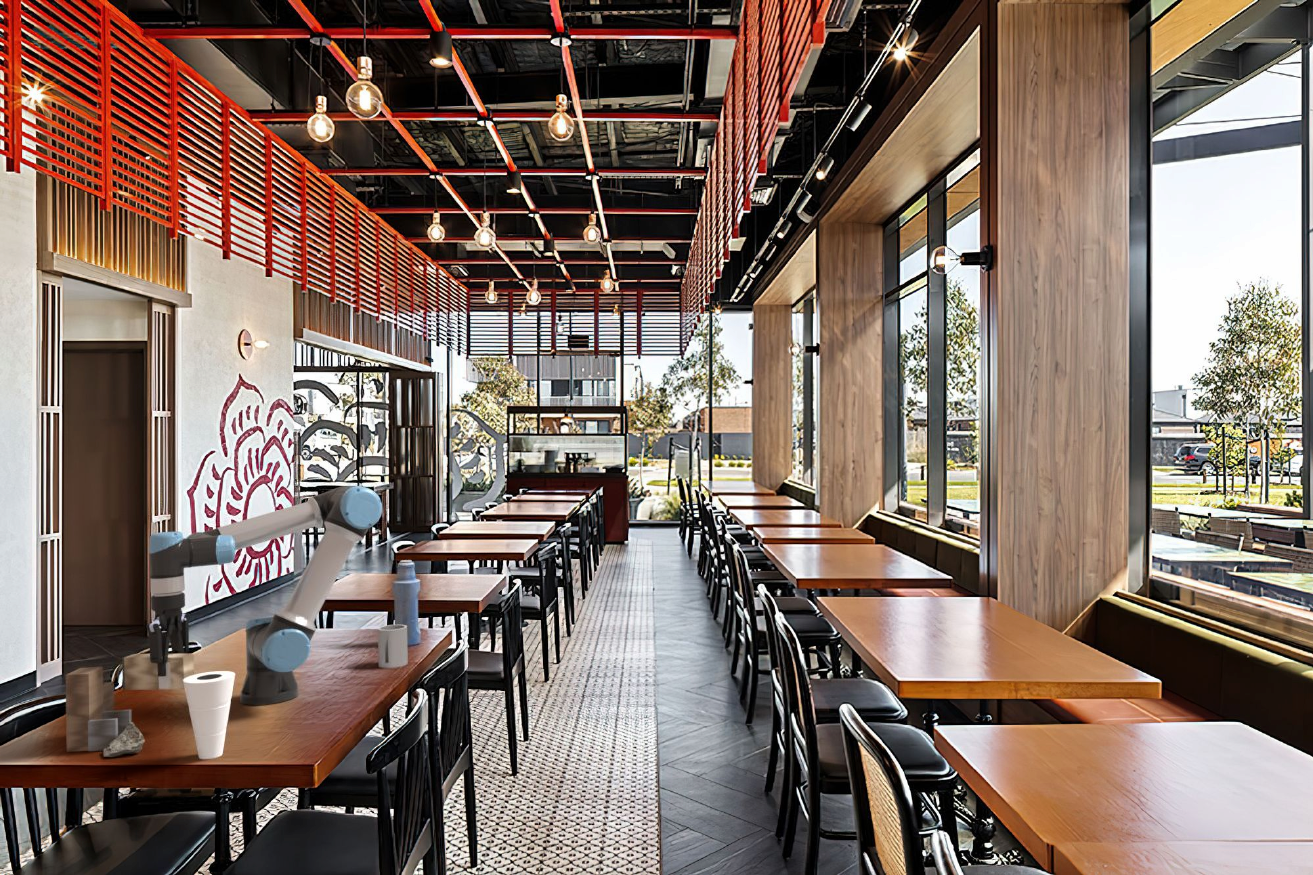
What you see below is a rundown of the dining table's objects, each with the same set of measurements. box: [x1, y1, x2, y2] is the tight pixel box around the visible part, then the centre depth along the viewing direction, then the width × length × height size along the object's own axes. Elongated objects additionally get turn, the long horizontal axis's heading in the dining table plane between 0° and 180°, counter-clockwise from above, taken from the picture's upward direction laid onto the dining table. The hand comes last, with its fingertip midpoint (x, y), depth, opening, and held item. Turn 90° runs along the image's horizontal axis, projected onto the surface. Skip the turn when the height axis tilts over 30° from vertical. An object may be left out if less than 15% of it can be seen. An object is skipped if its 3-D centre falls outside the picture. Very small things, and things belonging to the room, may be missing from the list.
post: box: [65, 666, 132, 753], centre depth 213 cm, size 11×17×18 cm, turn 9°
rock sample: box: [102, 721, 146, 758], centre depth 204 cm, size 10×8×9 cm
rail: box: [121, 653, 195, 691], centre depth 221 cm, size 17×4×8 cm, turn 84°
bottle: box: [391, 559, 422, 647], centre depth 314 cm, size 10×10×30 cm
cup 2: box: [183, 670, 236, 760], centre depth 200 cm, size 11×11×18 cm
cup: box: [377, 624, 409, 669], centre depth 284 cm, size 9×9×12 cm
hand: (171, 685), depth 221 cm, fingers closed on rail, 4 cm apart
